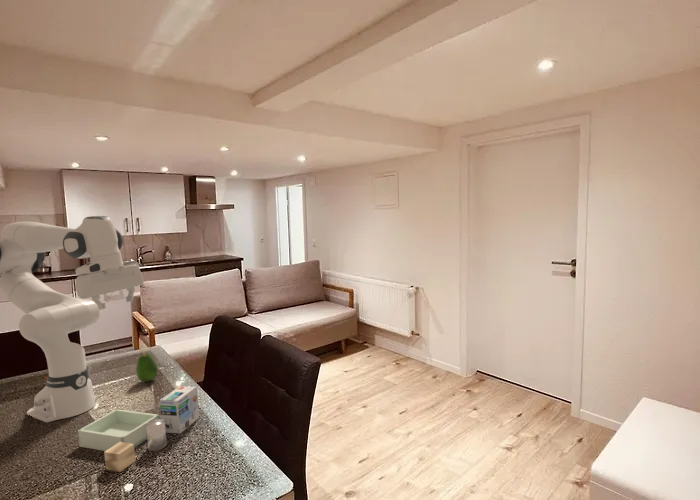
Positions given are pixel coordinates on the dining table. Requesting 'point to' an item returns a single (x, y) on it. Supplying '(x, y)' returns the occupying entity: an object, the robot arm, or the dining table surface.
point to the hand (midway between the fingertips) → (116, 305)
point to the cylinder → (156, 434)
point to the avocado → (146, 368)
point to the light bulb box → (179, 409)
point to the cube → (119, 456)
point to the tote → (116, 429)
